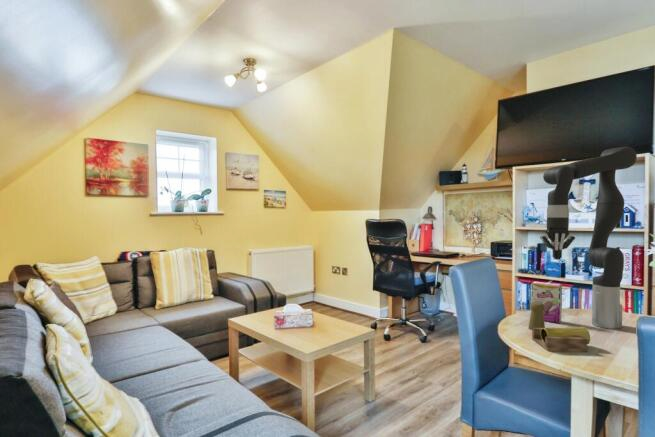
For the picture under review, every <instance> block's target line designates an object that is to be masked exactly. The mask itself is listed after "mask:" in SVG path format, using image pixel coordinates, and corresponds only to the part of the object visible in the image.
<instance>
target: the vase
mask: <svg viewBox="0 0 655 437" xmlns="http://www.w3.org/2000/svg"><path fill="white" fill-rule="evenodd" d="M540 335H541V339H542V341H543V342H544V343H545V337H581V338H586V339H587V345H589V344H590V343H591V334H590V332H589V329H587V328H586V327H585V326H575V327H574V326H573V327H571V326H570V327H569V326H568V327H545V328H542V329H541V331H540Z"/></svg>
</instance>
